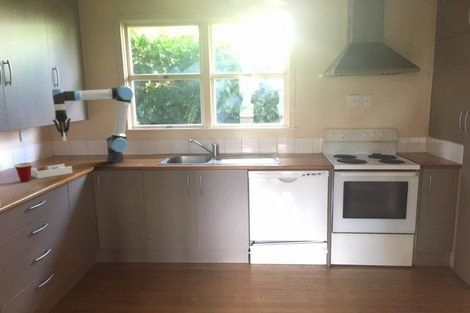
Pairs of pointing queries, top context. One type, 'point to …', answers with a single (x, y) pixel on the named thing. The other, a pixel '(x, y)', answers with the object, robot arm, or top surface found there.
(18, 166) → the plastic cup
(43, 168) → the walnut block
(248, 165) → the top surface
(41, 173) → the box
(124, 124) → the robot arm
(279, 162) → the top surface
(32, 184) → the top surface
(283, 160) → the top surface
